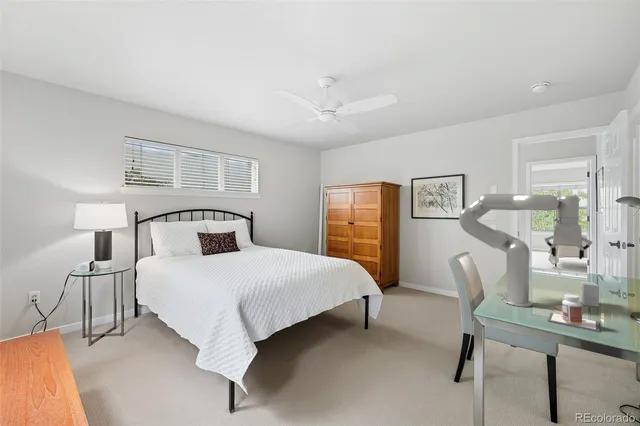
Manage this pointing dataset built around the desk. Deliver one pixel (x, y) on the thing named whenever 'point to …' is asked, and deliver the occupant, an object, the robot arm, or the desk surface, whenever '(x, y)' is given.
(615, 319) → the desk surface
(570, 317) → the pill bottle
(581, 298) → the small box
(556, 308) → the desk surface
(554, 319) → the writing mat
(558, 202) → the robot arm
